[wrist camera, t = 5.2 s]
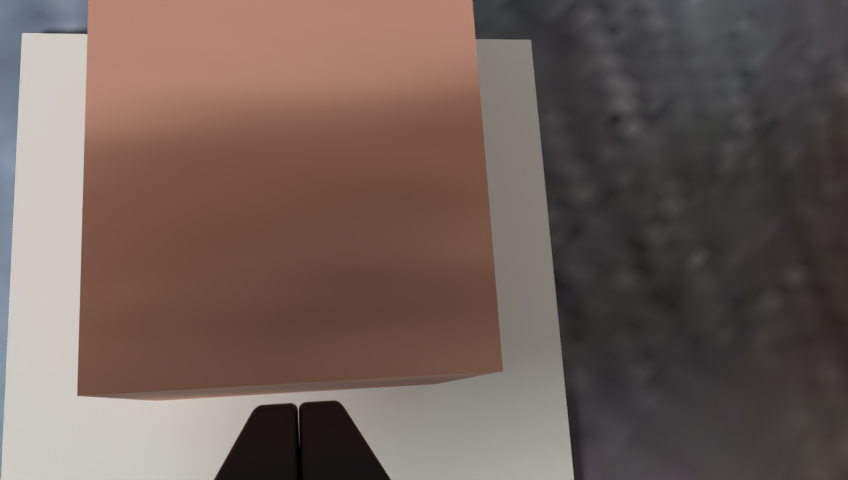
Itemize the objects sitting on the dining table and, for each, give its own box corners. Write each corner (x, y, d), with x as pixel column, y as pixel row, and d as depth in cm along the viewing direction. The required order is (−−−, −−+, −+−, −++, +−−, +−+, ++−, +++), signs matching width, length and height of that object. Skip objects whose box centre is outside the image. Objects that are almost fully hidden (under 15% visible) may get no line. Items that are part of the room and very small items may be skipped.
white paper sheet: (597, 778, 14) (604, 785, 13) (-10, 868, 12) (-18, 879, 12) (527, 46, 17) (530, 39, 16) (27, 40, 15) (22, 33, 15)
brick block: (502, 371, 10) (457, -186, 11) (76, 396, 9) (94, -208, 10) (435, 384, 14) (410, -7, 16) (156, 400, 14) (160, -13, 15)
